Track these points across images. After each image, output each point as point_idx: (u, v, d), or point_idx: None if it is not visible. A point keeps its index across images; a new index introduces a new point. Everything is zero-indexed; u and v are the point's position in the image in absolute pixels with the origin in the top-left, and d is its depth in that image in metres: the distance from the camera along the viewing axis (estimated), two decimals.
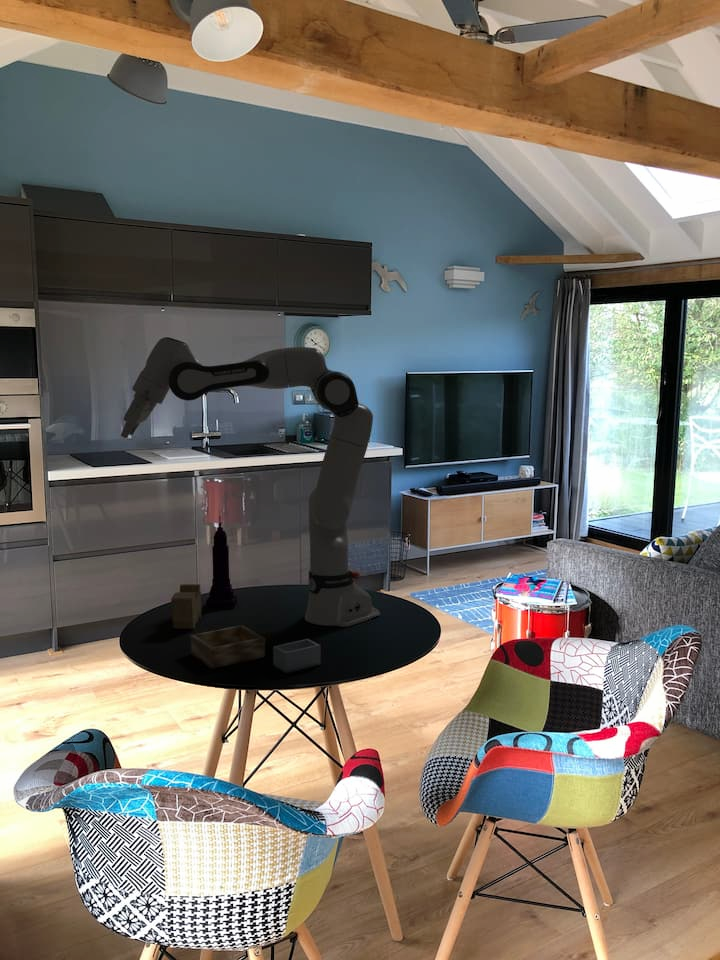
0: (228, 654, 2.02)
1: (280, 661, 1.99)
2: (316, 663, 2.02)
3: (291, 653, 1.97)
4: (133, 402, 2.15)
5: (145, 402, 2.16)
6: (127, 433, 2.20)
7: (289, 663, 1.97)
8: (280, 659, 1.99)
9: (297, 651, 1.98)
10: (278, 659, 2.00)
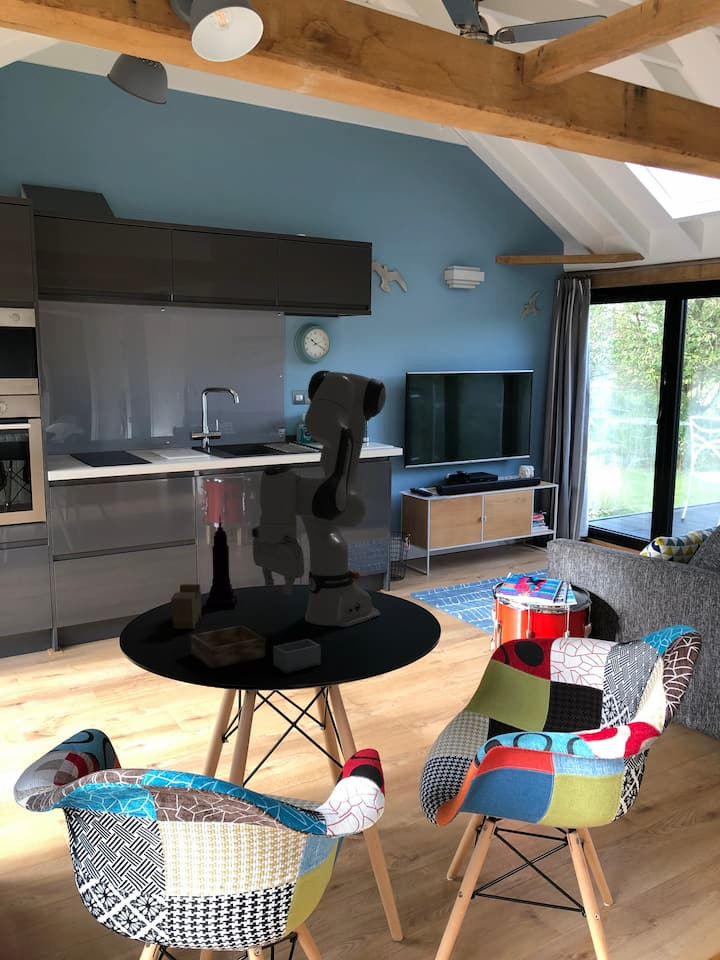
0: (228, 654, 2.02)
1: (280, 661, 1.99)
2: (316, 663, 2.02)
3: (291, 653, 1.97)
4: (292, 555, 1.89)
5: (300, 548, 1.90)
6: (290, 588, 1.94)
7: (289, 663, 1.97)
8: (280, 659, 1.99)
9: (297, 651, 1.98)
10: (278, 659, 2.00)
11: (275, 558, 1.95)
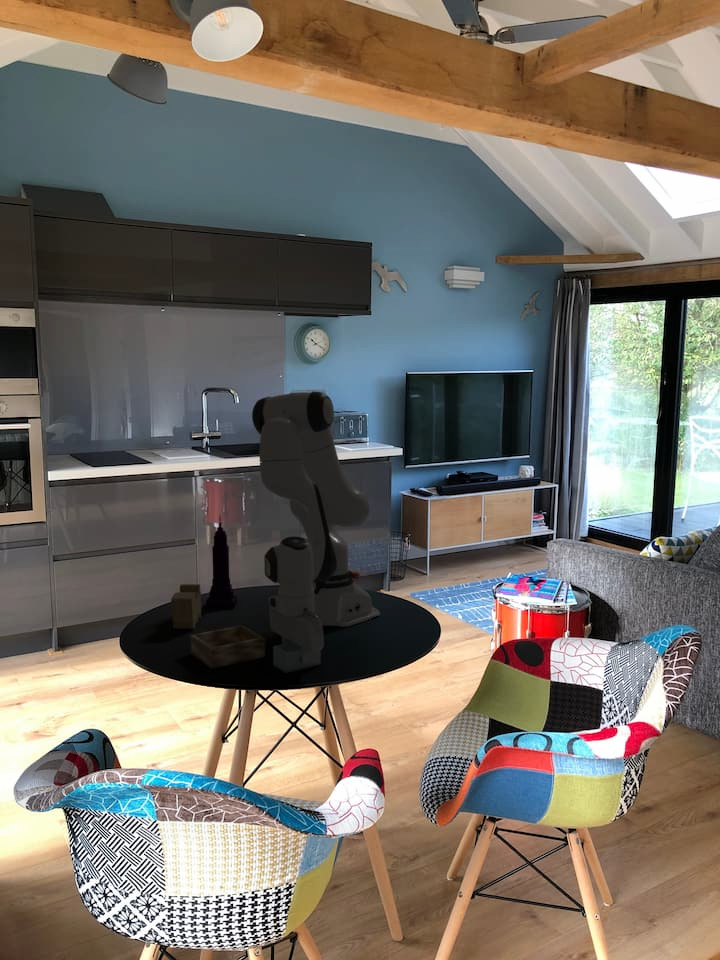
0: (228, 654, 2.02)
1: (280, 661, 1.99)
2: (316, 663, 2.02)
3: (291, 653, 1.98)
4: (312, 630, 1.92)
5: (320, 621, 1.94)
6: (307, 657, 1.99)
7: (289, 663, 1.98)
8: (280, 659, 1.99)
9: (297, 651, 1.98)
10: (278, 659, 2.00)
11: (294, 629, 1.98)
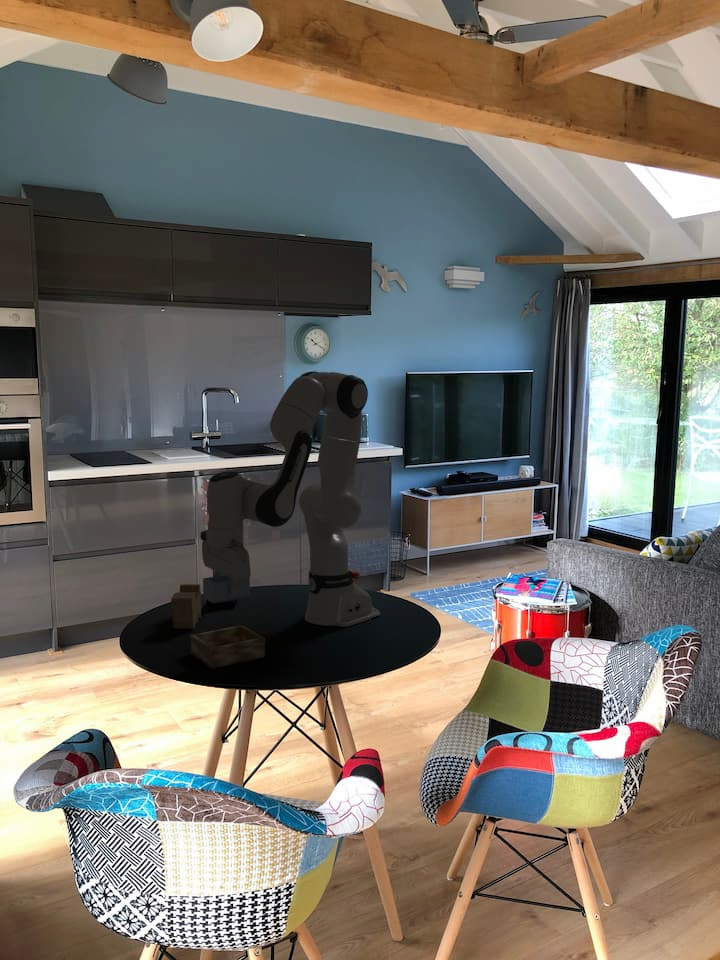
0: (228, 654, 2.02)
1: (209, 592, 2.03)
2: (245, 595, 2.07)
3: (219, 584, 2.02)
4: (238, 559, 1.97)
5: (247, 552, 1.99)
6: (236, 588, 2.03)
7: (217, 594, 2.02)
8: (209, 590, 2.03)
9: (225, 582, 2.03)
10: (207, 590, 2.04)
11: (223, 561, 2.03)
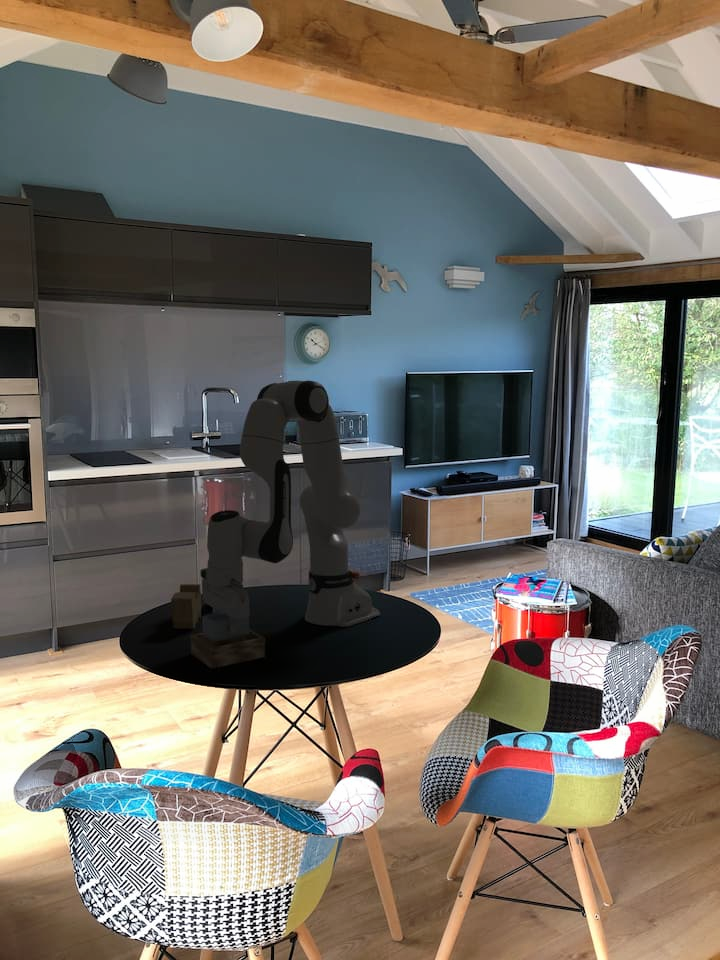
0: (228, 654, 2.02)
1: (208, 630, 2.05)
2: (244, 633, 2.08)
3: (218, 622, 2.03)
4: (238, 599, 1.98)
5: (246, 592, 2.00)
6: (235, 627, 2.05)
7: (216, 632, 2.03)
8: (208, 628, 2.05)
9: (224, 621, 2.04)
10: (206, 629, 2.06)
11: (222, 600, 2.04)
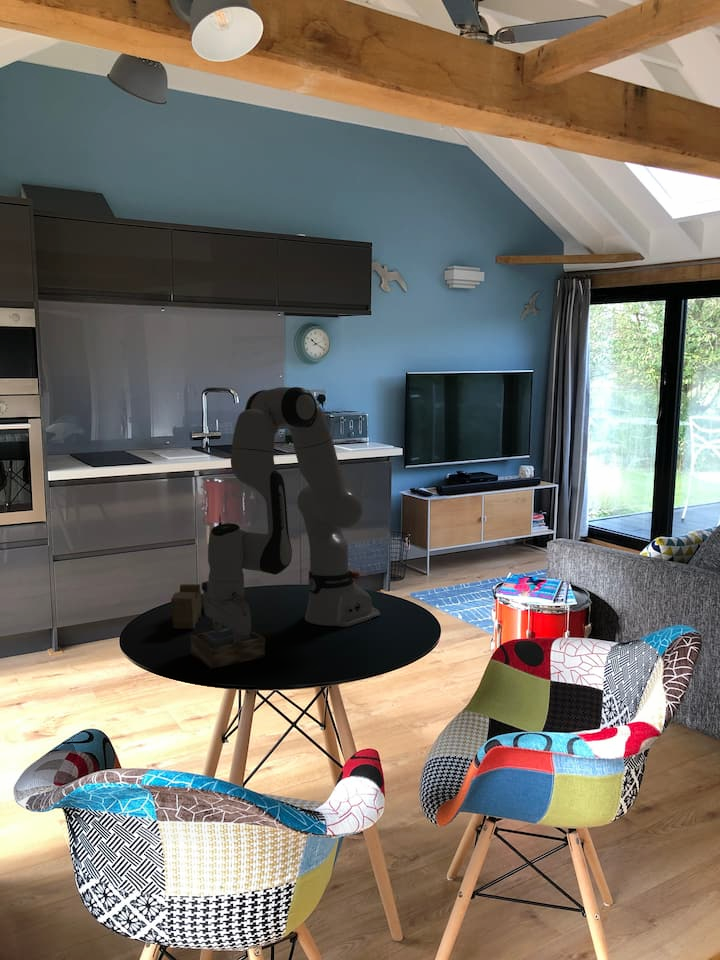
0: (228, 654, 2.02)
1: None
2: None
3: (220, 640, 2.04)
4: (239, 613, 1.99)
5: (247, 605, 2.01)
6: (239, 641, 2.04)
7: None
8: None
9: (226, 638, 2.05)
10: None
11: (224, 613, 2.05)
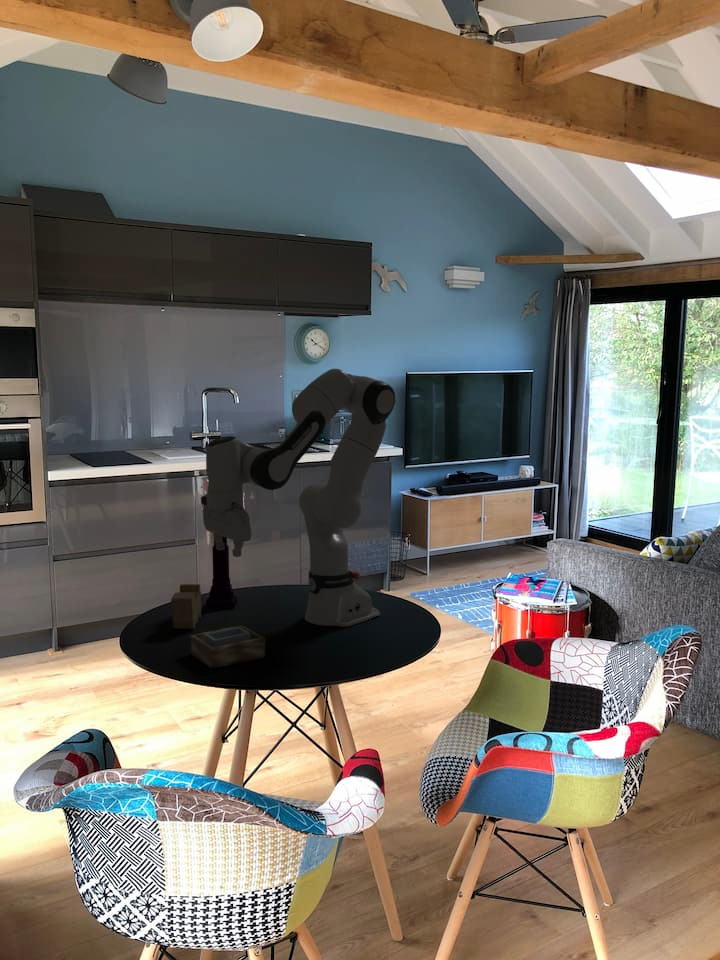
0: (228, 654, 2.02)
1: None
2: None
3: (220, 640, 2.04)
4: (239, 521, 2.02)
5: (247, 513, 2.04)
6: (240, 551, 2.08)
7: None
8: None
9: (226, 638, 2.05)
10: None
11: (224, 524, 2.08)
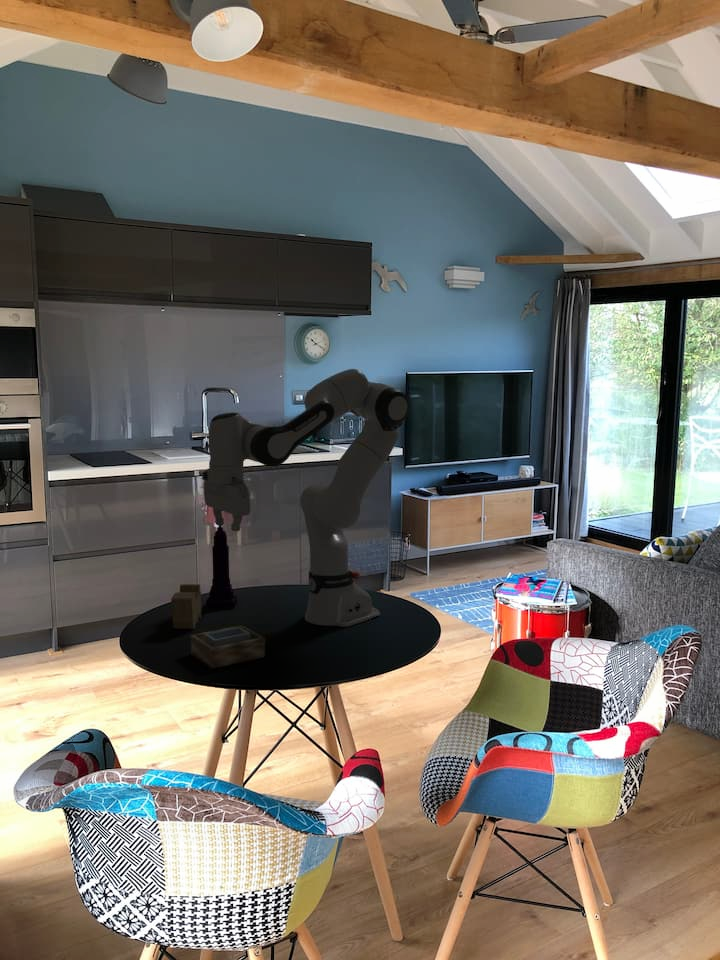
0: (228, 654, 2.02)
1: None
2: None
3: (220, 640, 2.04)
4: (239, 494, 2.05)
5: (247, 488, 2.07)
6: (238, 525, 2.11)
7: None
8: None
9: (226, 638, 2.05)
10: None
11: (224, 498, 2.11)
